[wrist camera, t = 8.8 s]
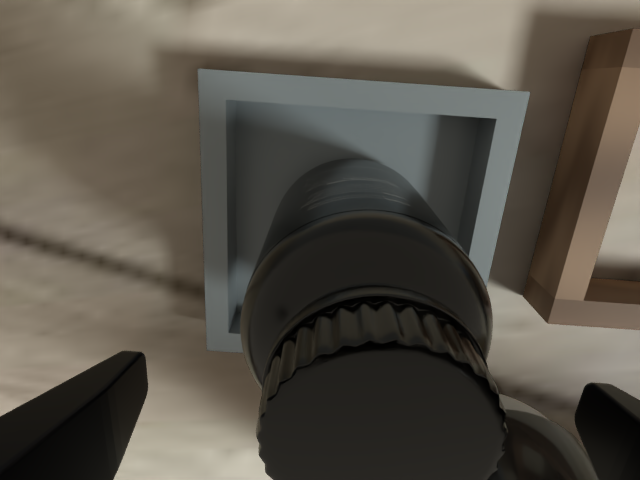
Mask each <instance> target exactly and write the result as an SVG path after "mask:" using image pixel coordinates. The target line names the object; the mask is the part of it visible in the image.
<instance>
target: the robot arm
mask: <svg viewBox="0 0 640 480" xmlns="http://www.w3.org/2000/svg"><path fill="white" fill-rule="evenodd" d="M147 391H148V379H147V368H146V359H145V355H144V354H143V353H142V352H137V351H121V352H119V353H117V354H116V355H114V356H112V357H110V358H108V359H106V360H104V361H103V362H101V363H99V364H97V365H95V366H93V367H91V368H90V369H88V370H86V371H84V372H82V373H80V374H78V375H77V376H75V377H73V378H71V379H69V380H67V381H65V382H64V383H62V384H60V385H58V386H56V387H54V388H52V389H51V390H49V391H47V392H45V393H43V394H41V395H39V396H38V397H36V398H34V399H32V400H30V401H28V402H26V403H25V404H23V405H21V406H19V407H17V408H15V409H13V410H12V411H10V412H8V413H6V414H4V415H2V416H0V480H113V479H114V477H115V475H116V473H117V471H118V468H119V466H120V463H121V461H122V459H123V456H124V454H125V451H126V448H127V446H128V443H129V441H130V438H131V435H132V433H133V430H134V428H135V425H136V422H137V420H138V417H139V415H140V412H141V409H142V407H143V404H144V401H145V399H146V396H147ZM575 424H576V428H577V430H578V433H579V435H580V437H581V440H582V442H583V444H584V447H585V449H586V451H587V454H588V456H589V458H590V461H591V463H592V465H593V468H594V470H595V472H596V475H597V477H598V479H599V480H640V400H638V399H637V398H635V397H633V396H631V395H629V394H628V393H626V392H624V391H622V390H620V389H619V388H617V387H615V386H613V385H611V384H605V383H588V384H587V385H586V386H585V387H584V390H583V392H582V395H581V398H580V401H579V404H578V407H577V410H576V413H575Z"/></svg>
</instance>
